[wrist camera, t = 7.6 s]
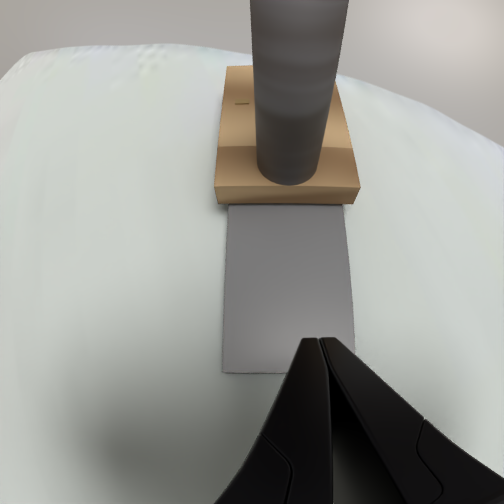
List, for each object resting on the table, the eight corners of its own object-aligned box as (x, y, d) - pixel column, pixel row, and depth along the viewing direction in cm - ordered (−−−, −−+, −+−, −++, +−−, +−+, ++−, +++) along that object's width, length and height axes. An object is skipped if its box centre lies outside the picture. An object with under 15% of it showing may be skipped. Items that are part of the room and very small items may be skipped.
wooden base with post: (352, 204, 16) (424, 24, 6) (218, 203, 16) (173, 10, 6) (328, 85, 20) (348, -50, 10) (228, 83, 20) (213, -54, 10)
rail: (349, 370, 14) (413, 361, 8) (224, 372, 14) (193, 369, 8) (324, 123, 20) (340, 37, 13) (235, 122, 20) (226, 34, 14)
